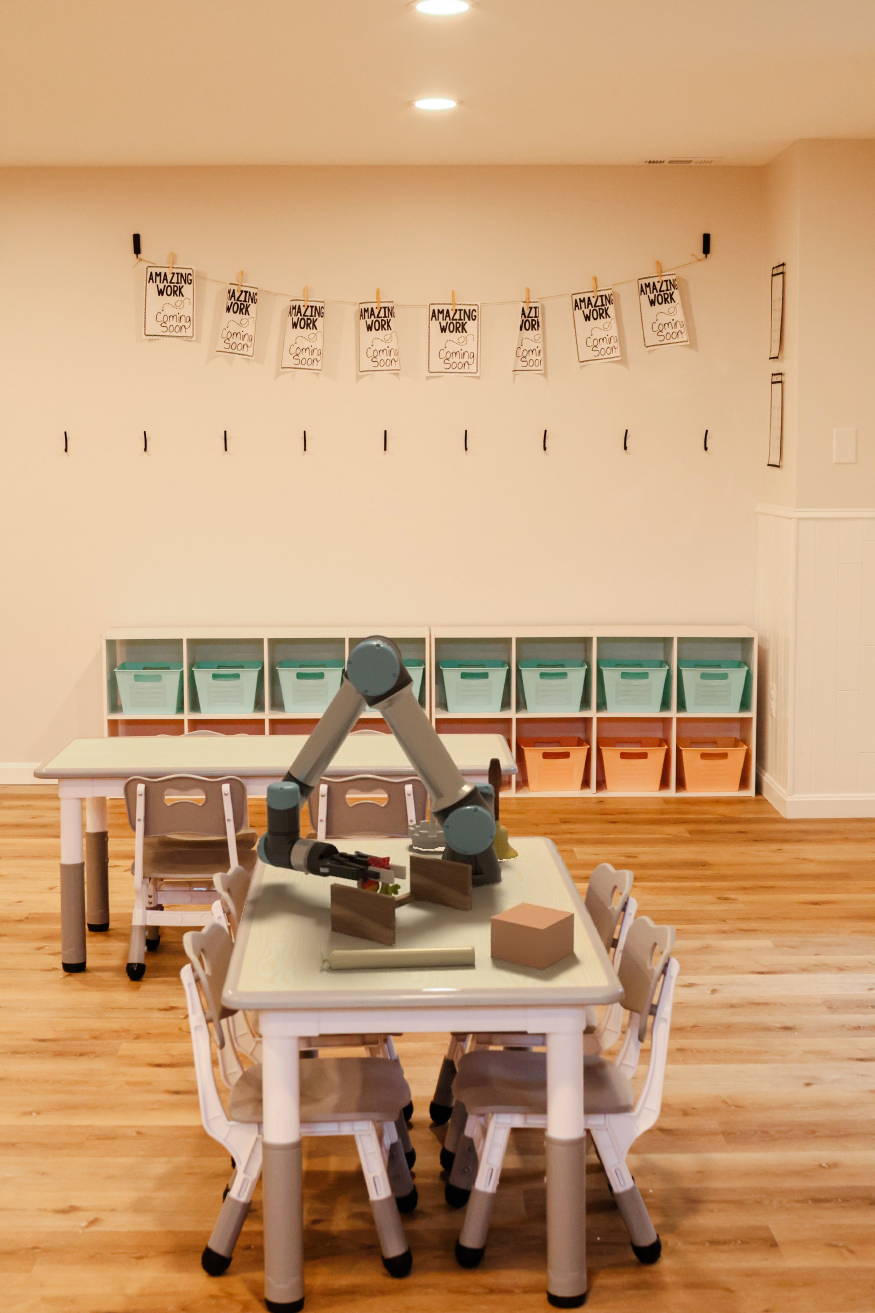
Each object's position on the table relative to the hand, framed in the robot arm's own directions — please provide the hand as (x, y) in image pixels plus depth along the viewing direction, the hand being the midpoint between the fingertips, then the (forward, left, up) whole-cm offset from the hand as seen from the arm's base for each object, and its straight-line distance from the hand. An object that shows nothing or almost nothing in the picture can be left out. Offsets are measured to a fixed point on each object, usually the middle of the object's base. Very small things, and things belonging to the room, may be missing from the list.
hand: (399, 875), depth 280 cm
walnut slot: (-1, 0, -10) cm, 10 cm away
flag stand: (-53, -30, -10) cm, 62 cm away
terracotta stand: (+1, +34, -10) cm, 36 cm away
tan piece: (+22, +16, -11) cm, 29 cm away
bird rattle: (0, -6, -7) cm, 9 cm away
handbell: (-55, -12, -10) cm, 57 cm away
